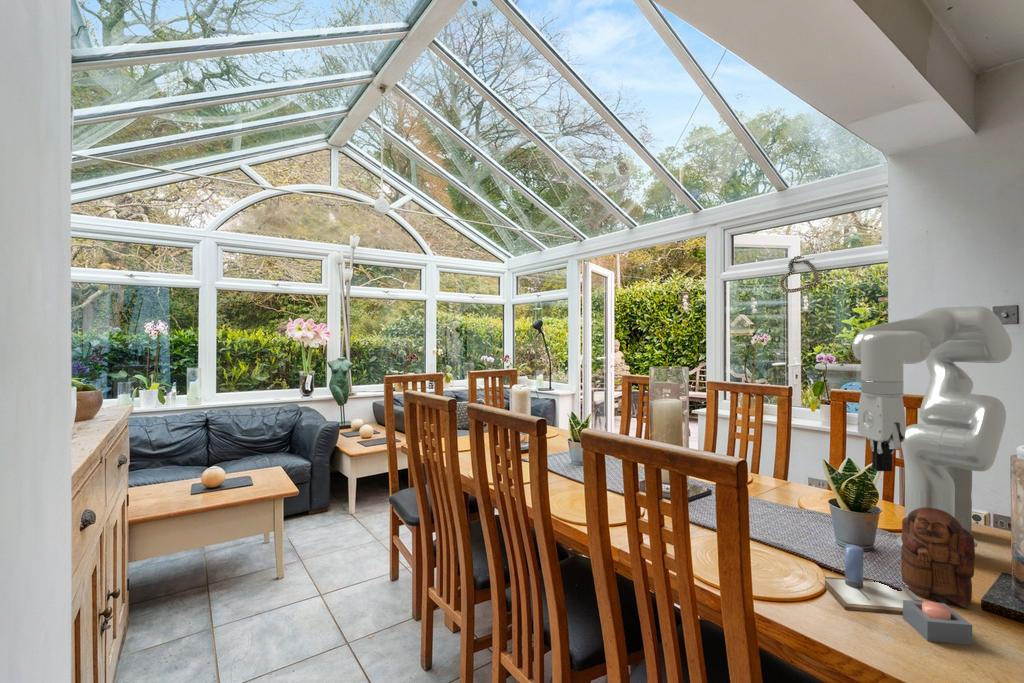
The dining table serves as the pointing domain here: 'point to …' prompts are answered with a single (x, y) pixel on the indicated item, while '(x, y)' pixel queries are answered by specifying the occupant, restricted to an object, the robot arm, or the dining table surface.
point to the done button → (936, 610)
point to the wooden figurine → (937, 557)
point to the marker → (854, 566)
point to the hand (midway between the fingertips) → (882, 470)
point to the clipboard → (869, 596)
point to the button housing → (937, 624)
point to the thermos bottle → (962, 495)
